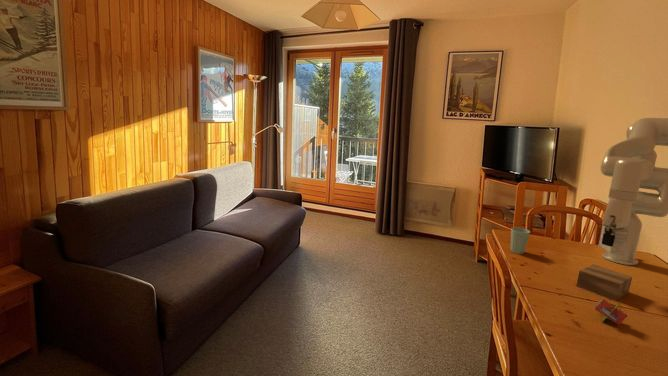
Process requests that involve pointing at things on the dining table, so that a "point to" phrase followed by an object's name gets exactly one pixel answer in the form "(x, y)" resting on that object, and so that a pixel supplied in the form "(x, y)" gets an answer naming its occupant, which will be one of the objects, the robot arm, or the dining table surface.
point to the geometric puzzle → (610, 312)
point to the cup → (519, 239)
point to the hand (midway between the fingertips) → (612, 243)
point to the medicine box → (616, 241)
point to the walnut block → (604, 282)
